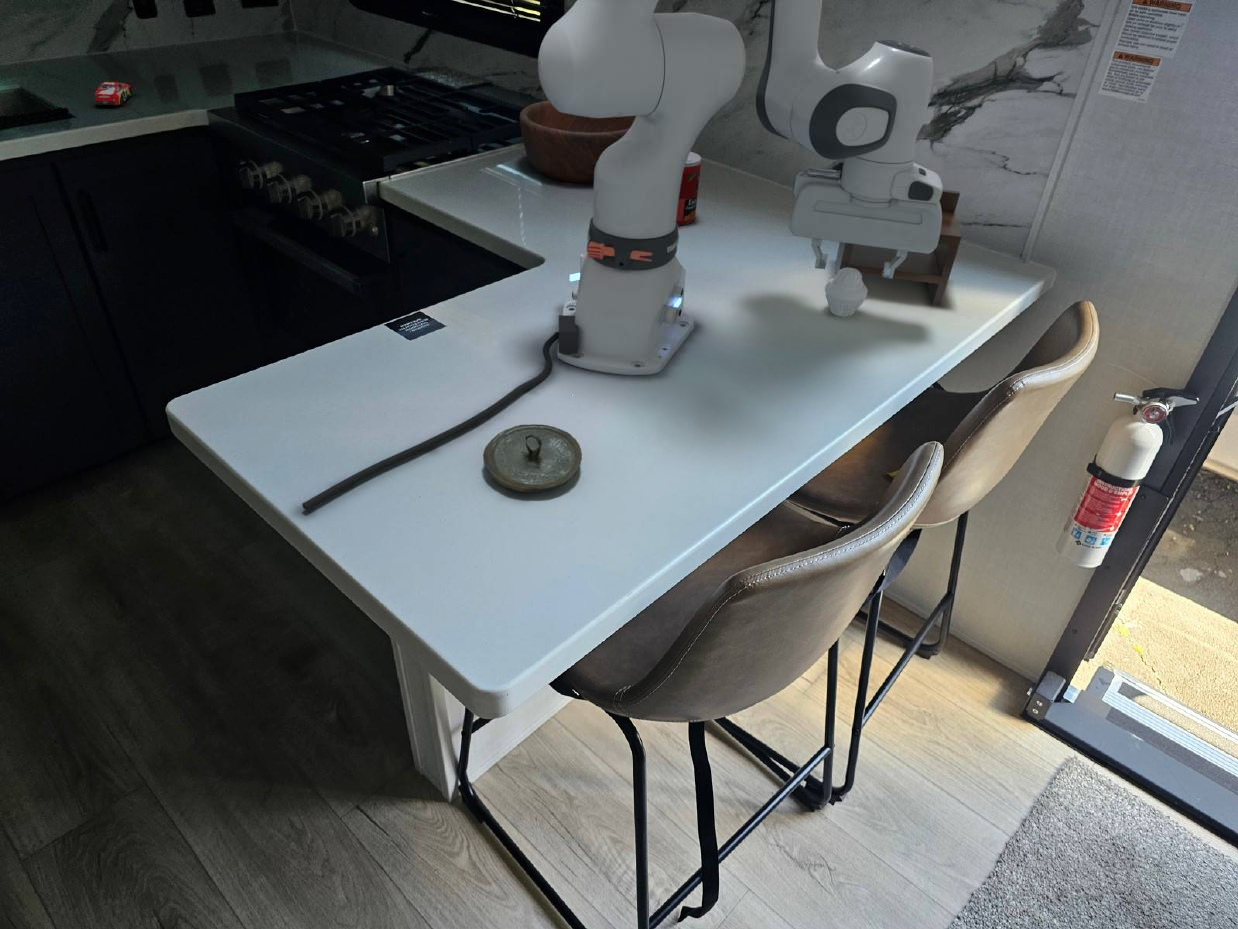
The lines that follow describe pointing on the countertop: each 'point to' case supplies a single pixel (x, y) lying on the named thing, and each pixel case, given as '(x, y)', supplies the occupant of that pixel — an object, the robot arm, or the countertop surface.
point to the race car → (112, 93)
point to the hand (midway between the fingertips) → (853, 271)
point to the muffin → (845, 292)
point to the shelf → (912, 254)
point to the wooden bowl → (568, 140)
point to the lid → (532, 457)
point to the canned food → (689, 190)
